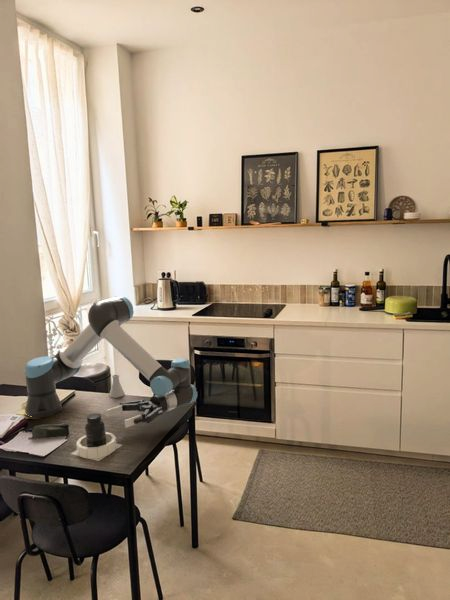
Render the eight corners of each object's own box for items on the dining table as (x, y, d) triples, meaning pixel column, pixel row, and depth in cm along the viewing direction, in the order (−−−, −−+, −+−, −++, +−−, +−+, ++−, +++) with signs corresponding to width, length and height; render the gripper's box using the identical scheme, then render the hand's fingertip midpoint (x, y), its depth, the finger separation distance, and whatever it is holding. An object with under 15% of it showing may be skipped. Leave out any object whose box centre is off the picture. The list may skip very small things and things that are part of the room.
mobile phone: (68, 422, 185) (28, 425, 183) (67, 425, 182) (26, 428, 180) (69, 434, 185) (29, 437, 183) (68, 437, 182) (27, 440, 180)
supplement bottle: (99, 440, 175) (96, 410, 173) (110, 445, 171) (108, 414, 169) (83, 448, 170) (80, 416, 168) (94, 453, 166) (91, 421, 164)
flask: (116, 399, 220) (114, 378, 219) (106, 396, 225) (104, 376, 223) (127, 394, 226) (126, 374, 224) (118, 391, 230) (116, 372, 229)
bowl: (69, 453, 168) (68, 444, 167) (95, 438, 179) (95, 429, 179) (98, 461, 161) (97, 451, 161) (123, 444, 173) (122, 435, 173)
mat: (70, 454, 168) (70, 453, 168) (95, 439, 179) (95, 438, 179) (98, 462, 162) (98, 461, 162) (122, 445, 173) (122, 444, 173)
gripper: (182, 420, 180) (134, 438, 166) (146, 403, 198) (100, 418, 184) (181, 401, 179) (132, 418, 165) (145, 386, 197) (98, 400, 183)
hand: (115, 418), depth 174 cm, fingers open, 13 cm apart
